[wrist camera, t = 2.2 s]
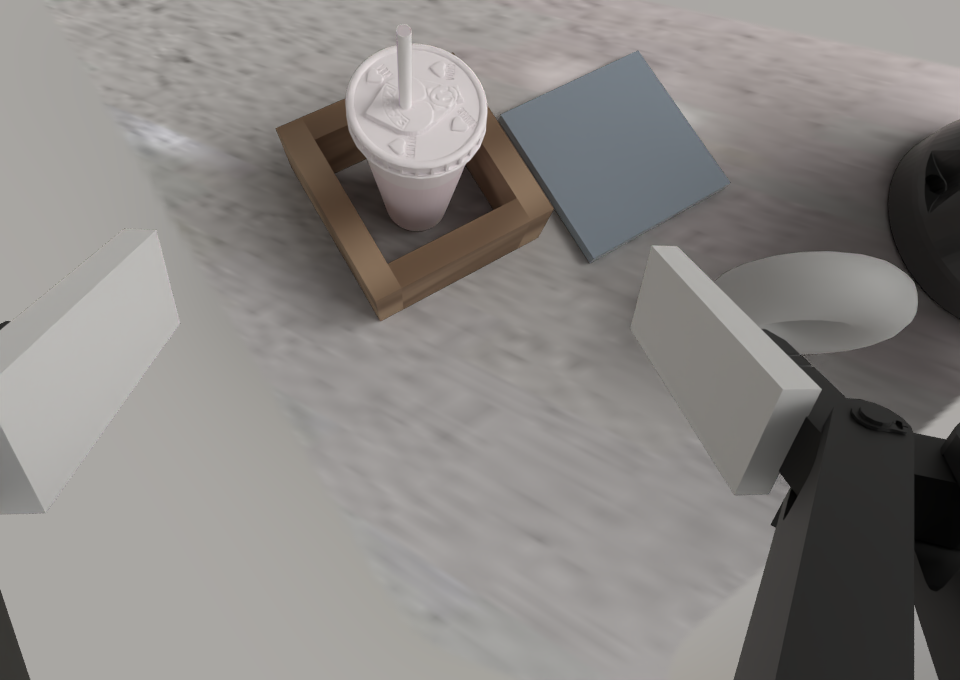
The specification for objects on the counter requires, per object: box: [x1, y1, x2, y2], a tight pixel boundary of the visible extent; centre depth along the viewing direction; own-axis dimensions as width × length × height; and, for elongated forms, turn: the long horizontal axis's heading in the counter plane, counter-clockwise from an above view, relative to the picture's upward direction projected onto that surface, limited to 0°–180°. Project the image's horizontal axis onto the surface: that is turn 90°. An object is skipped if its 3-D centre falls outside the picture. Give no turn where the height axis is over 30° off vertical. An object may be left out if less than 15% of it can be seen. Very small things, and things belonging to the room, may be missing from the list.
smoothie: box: [345, 24, 487, 231], centre depth 27 cm, size 6×6×14 cm
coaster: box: [499, 51, 730, 263], centre depth 36 cm, size 11×11×1 cm
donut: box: [714, 251, 918, 354], centre depth 30 cm, size 10×3×10 cm, turn 83°
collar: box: [276, 53, 554, 321], centre depth 32 cm, size 11×11×4 cm
